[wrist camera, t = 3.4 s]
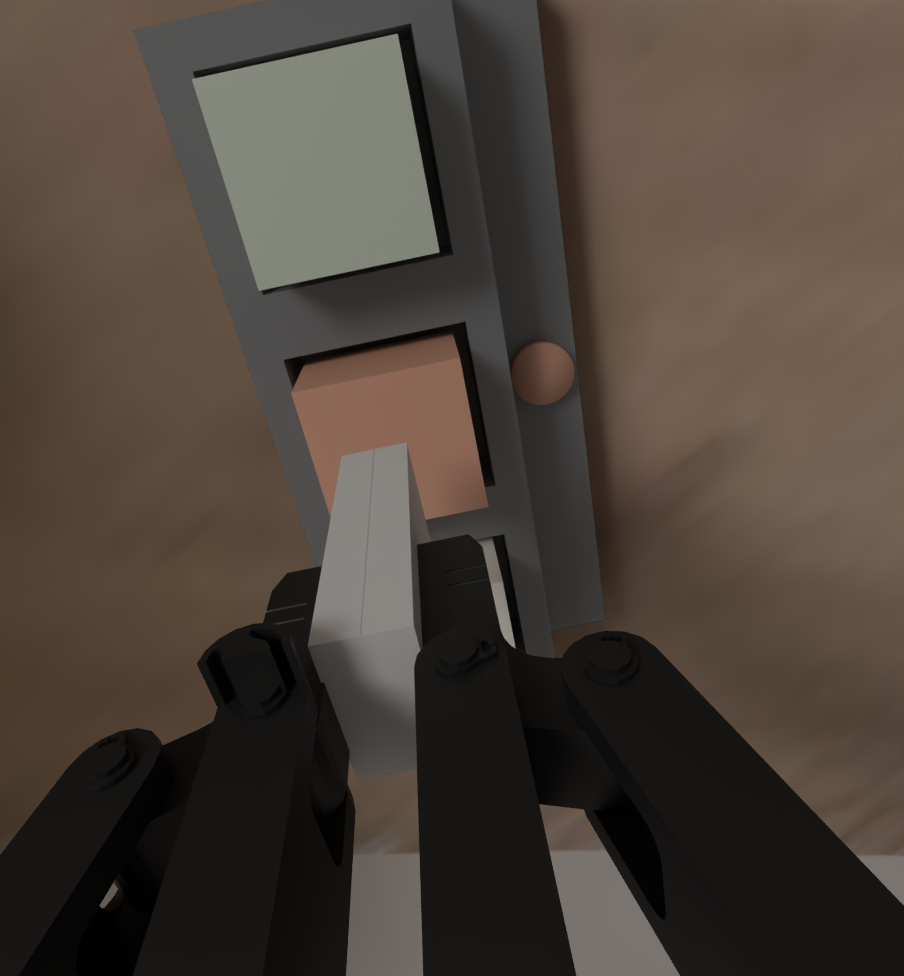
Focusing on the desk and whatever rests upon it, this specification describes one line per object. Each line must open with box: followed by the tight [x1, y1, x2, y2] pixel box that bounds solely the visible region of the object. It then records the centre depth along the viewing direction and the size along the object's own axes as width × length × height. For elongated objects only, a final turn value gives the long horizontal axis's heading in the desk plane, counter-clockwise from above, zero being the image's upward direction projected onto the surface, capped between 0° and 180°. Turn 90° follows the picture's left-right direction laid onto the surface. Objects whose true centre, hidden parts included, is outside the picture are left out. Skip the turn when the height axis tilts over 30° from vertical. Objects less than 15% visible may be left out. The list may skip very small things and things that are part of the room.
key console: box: [134, 0, 605, 658], centre depth 22 cm, size 10×21×4 cm, turn 11°
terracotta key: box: [291, 330, 488, 520], centre depth 19 cm, size 4×4×3 cm
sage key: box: [192, 34, 439, 291], centre depth 16 cm, size 4×4×3 cm
